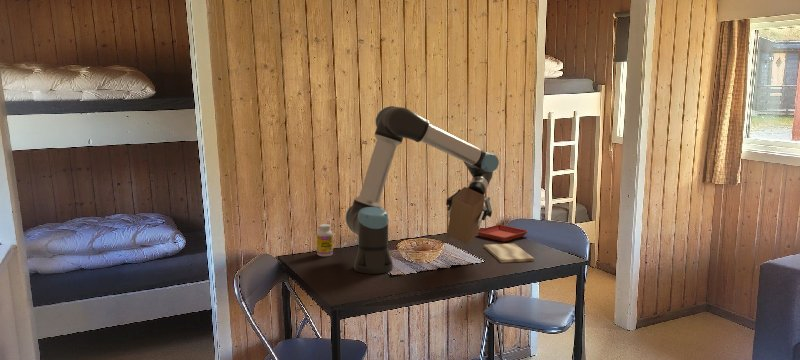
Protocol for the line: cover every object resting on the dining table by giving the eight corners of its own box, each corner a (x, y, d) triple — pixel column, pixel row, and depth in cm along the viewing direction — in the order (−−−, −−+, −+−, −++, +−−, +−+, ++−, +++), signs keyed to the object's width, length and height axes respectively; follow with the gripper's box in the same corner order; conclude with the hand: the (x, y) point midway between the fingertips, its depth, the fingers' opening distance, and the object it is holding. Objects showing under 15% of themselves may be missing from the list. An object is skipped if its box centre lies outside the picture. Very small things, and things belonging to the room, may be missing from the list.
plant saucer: (504, 244, 284) (504, 237, 283) (474, 237, 297) (474, 230, 296) (528, 237, 295) (528, 230, 295) (498, 230, 309) (498, 224, 308)
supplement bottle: (319, 257, 260) (319, 227, 258) (315, 253, 266) (314, 224, 264) (335, 255, 263) (334, 226, 261) (330, 252, 269) (329, 222, 267)
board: (500, 262, 253) (501, 259, 253) (483, 247, 276) (483, 244, 276) (533, 261, 255) (533, 258, 255) (514, 246, 278) (514, 243, 278)
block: (479, 233, 258) (486, 195, 246) (467, 245, 251) (474, 207, 239) (458, 223, 262) (464, 185, 250) (446, 235, 255) (451, 197, 244)
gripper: (451, 174, 265) (435, 203, 248) (506, 189, 259) (494, 220, 242) (449, 188, 269) (434, 218, 253) (503, 203, 264) (491, 234, 247)
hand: (463, 219), depth 247 cm, fingers closed on block, 12 cm apart
